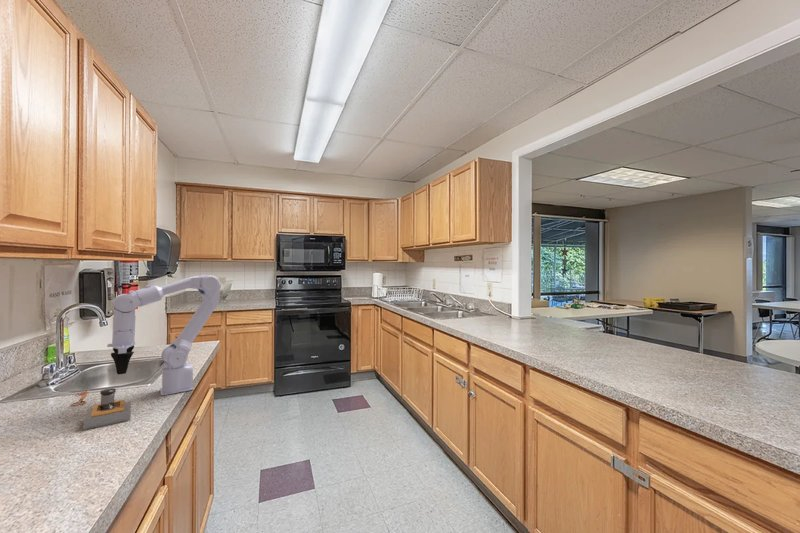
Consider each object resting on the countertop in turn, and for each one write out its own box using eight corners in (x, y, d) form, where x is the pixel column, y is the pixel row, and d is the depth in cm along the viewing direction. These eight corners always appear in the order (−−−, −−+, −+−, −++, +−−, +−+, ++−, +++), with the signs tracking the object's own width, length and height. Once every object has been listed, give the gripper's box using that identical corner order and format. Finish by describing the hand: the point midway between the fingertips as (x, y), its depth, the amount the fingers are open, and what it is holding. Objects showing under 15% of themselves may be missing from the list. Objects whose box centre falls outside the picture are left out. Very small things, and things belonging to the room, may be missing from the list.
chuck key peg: (114, 406, 99) (115, 387, 99) (114, 409, 97) (115, 390, 97) (99, 408, 97) (100, 389, 97) (99, 412, 95) (100, 393, 95)
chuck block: (130, 410, 103) (131, 397, 103) (130, 420, 97) (130, 406, 97) (87, 419, 97) (87, 405, 97) (83, 430, 91) (83, 415, 91)
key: (73, 395, 116) (60, 410, 104) (73, 392, 116) (60, 407, 104) (95, 390, 120) (85, 405, 107) (95, 388, 120) (85, 402, 107)
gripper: (109, 327, 113) (107, 367, 113) (106, 334, 102) (104, 378, 101) (135, 326, 117) (134, 364, 117) (135, 332, 106) (133, 374, 106)
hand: (122, 370), depth 109 cm, fingers open, 7 cm apart
